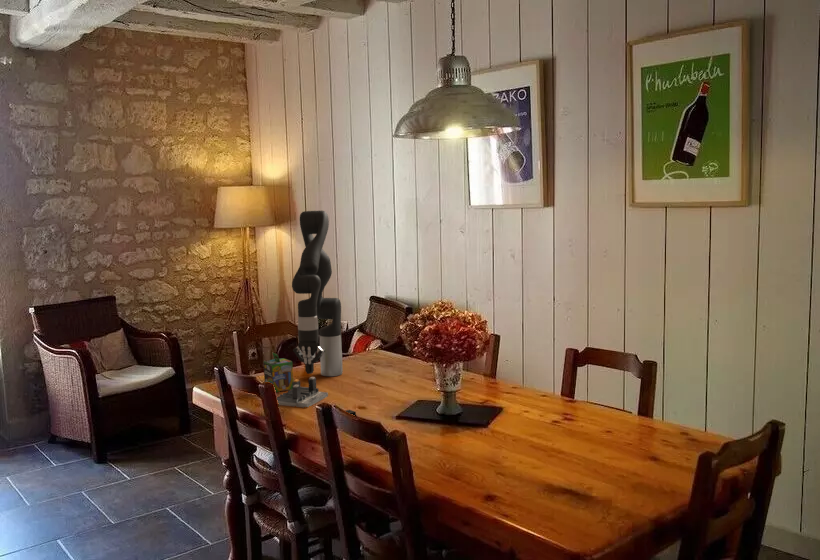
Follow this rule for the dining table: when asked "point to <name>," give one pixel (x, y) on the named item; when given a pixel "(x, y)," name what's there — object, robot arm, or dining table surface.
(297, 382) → the breaker
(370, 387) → the dining table surface
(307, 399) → the grey pegged base plate
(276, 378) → the chalk box
